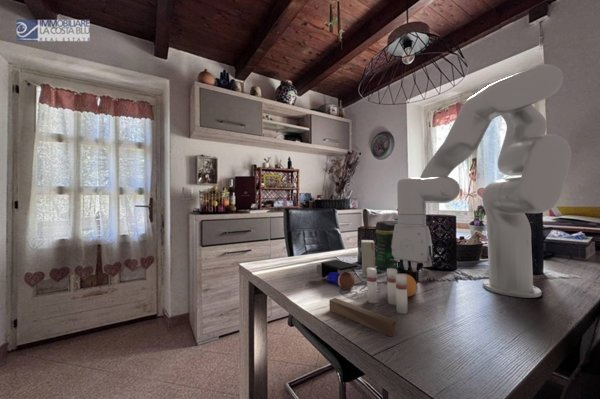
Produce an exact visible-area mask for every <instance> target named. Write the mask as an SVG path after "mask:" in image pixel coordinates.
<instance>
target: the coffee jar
mask: <svg viewBox="0 0 600 399" xmlns="http://www.w3.org/2000/svg"><path fill="white" fill-rule="evenodd" d="M397 224H398V223H397V220H381V221H377V222H376V223H375V233H376V237H377V238H376V239H377V240H376V241H377V242H376V245H377V246H376V256H375V267H377V268H378V269H379V270H385V271H387V269H388V268H393V269H397V268H398V267H397V261H395V260H394V257H393V256H392V239H393V232H394V227H395V225H397ZM397 270H398V269H397Z"/></svg>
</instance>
